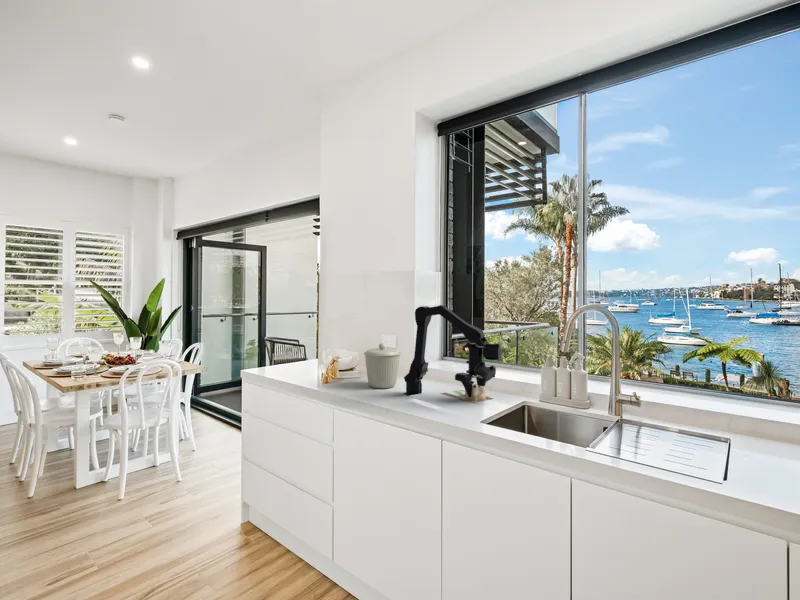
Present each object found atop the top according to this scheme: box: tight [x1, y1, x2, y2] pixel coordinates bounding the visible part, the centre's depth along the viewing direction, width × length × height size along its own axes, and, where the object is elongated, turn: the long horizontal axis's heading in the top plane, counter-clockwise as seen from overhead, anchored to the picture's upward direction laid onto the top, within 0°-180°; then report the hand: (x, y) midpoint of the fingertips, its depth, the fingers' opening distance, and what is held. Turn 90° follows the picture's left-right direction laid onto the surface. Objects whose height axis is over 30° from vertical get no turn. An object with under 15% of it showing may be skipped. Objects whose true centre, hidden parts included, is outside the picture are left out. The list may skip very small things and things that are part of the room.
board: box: [440, 389, 494, 404], centre depth 181 cm, size 12×20×2 cm, turn 37°
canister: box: [363, 342, 402, 389], centre depth 205 cm, size 18×18×21 cm
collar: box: [464, 383, 487, 401], centre depth 177 cm, size 6×6×5 cm
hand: (475, 395), depth 177 cm, fingers closed on collar, 6 cm apart
